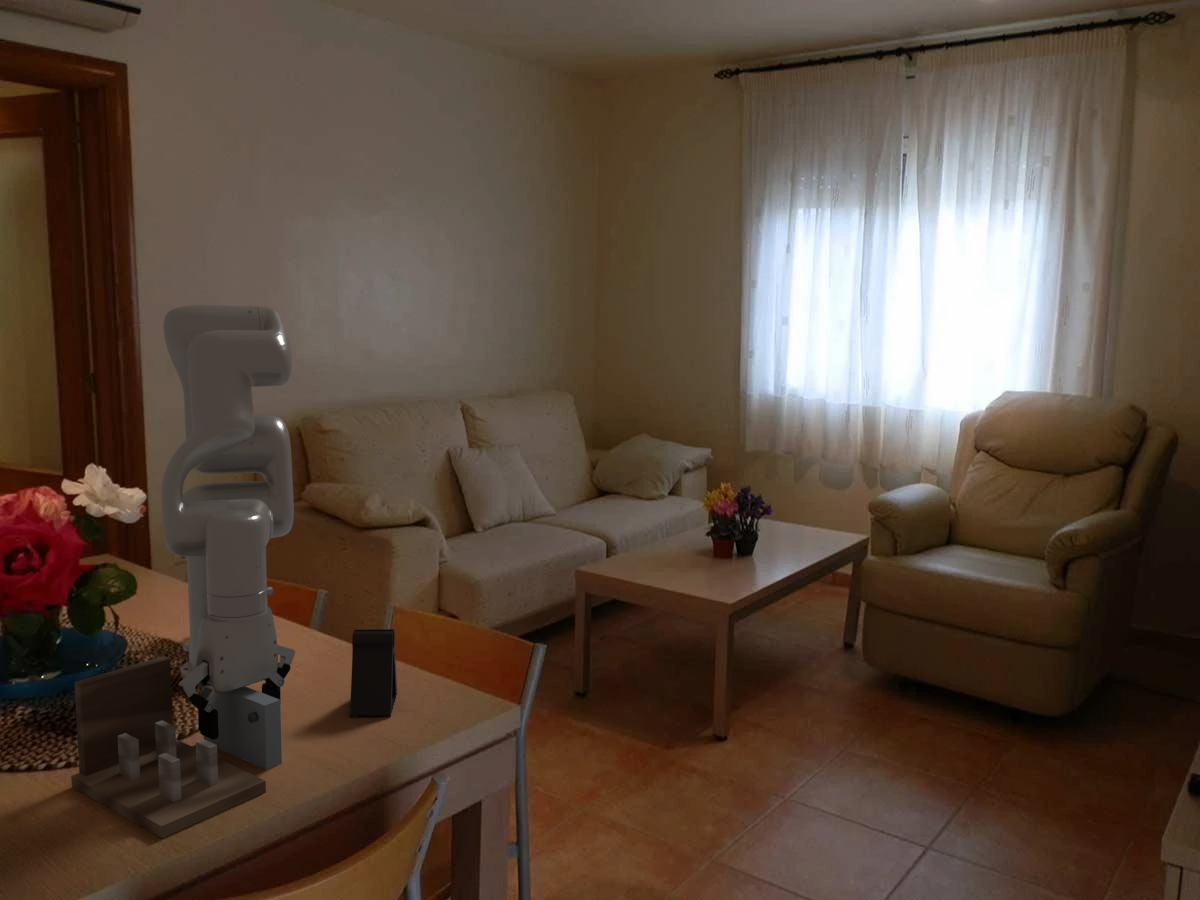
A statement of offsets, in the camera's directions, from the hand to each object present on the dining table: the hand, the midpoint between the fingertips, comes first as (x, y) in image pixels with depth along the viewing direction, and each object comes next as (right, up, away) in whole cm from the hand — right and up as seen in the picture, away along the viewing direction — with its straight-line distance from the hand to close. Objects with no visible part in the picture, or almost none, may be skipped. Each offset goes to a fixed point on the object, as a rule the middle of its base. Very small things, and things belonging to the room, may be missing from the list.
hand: (241, 724), depth 136 cm
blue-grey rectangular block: (0, -4, +1) cm, 4 cm away
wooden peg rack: (-5, -5, -10) cm, 13 cm away
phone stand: (+14, -2, +17) cm, 23 cm away
